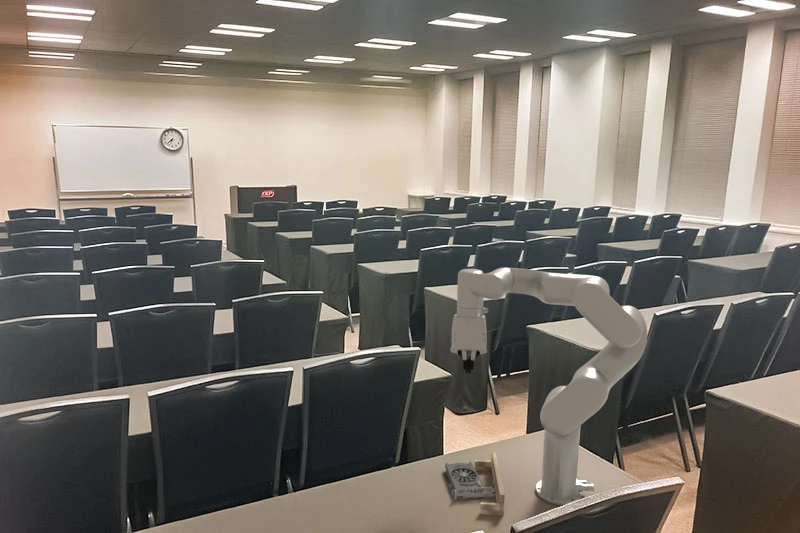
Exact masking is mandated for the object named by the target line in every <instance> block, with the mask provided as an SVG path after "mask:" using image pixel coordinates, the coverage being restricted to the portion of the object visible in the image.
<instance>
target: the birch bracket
mask: <svg viewBox="0 0 800 533" xmlns="http://www.w3.org/2000/svg"><path fill="white" fill-rule="evenodd" d="M497 456H498V455H497V453H496V451H491V456H490V457H491V458H490V459H491V460H487V459H486V460H485V459H484V460H483V459H475V460H474V468H475V470H476V471H483V472H484V471H485V472H491V478H492V483H493V488H495V491H494V494H495V500H496V502H480V506H479V509H480V510H479V513H480V515H486V516H487V515H490V516H504V515H505V491H504V485H503V482H502V476H501V471H500V467H499V462H498V461H499V460H498V457H497Z"/></svg>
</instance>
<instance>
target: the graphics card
mask: <svg viewBox="0 0 800 533" xmlns="http://www.w3.org/2000/svg"><path fill="white" fill-rule="evenodd" d="M444 467H445V472H446V473H445V474H446V476H447V478H448V481H446V484H447V486H448V489H449V492H450V494H451V497H452V499H453V500H454V502H456V500H464V499H465V500H466V499H467V500H469V501H471V500H472V499H478V500H481V499H482V500H483V499H487V498H494V497H495V498H496V495H495V493H493V492H495V488H494V487H492V486H486V487H485V486H484V484H483V482H482V480H481V478H480V475H479V474H478V472H477V470H475V465H474V464H473V462H471V461H469V462H468V463H467V462H466V463H465V462H456V463H455V462H454V463H449V462H446V463H444Z"/></svg>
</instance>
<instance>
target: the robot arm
mask: <svg viewBox="0 0 800 533" xmlns="http://www.w3.org/2000/svg"><path fill="white" fill-rule="evenodd" d="M456 290H457V292H456V293H457V295H456V296H457V298H456V313H455V314H454V315H453V319H452V324H451V325H452V327H451V337H450V338H451V341H450V342H451V346H450V348H449V349H450V353H452V354H457V355H459V357H461V359H462V370H464V372H465V374H468V373H469V374H472V371H473V370H474V364H475V363H474V361H475V360H476V359H477V357H478V356H479V355H483V354H487V353H488V349H487V345H488V344H487V343H488V342H487V341H488V339H487V338H488V337H487V333H488V332H487V320H486V315H485V314H487V313H489V308H488V307H485V306H484V299H487V300H491V301H492V300H493V301H496V300H499V299H502V298H503V297H505V296H506V295H507V294H520V295H521V294H522V295H527V296H532V297H535V298H537V299H538V300H539V301H541V302H542V303H544V304H548V305H557V306H571V307H575V309H576V310H577V311H578V312H579V313H580V315H581V316H582V317H583V318H584V319H585V320H586V321H587V322H588V323H589V325H591V326H592V327H593V328H594V329H595V330H596V331H597V332H598V333H599V334H600V335H601V336H602V337H604V338H605V340H606V341H608V343H606V345H605V346H604V347H603V348H601V350H600V351H598V353H597V354H595V355H594V356H593V357H592V358H590V360H588V361H587V362H586V363H585V364H583V365H582V366H580V367H579V368H578V369H577V370H576V371H575V373H574V374H573V377H572V379H571V381H570V383H569V384H567V385H559V386H556V387H555V388H553V389H551V391H550V392H549V393H548V395H547V396H546V398H545V400H544V404H543V405H542V408H541V410H540V417H539V418H540V419H539V420H540V423H541V426H542V427H543V429H544V436H543V451H542V452H543V453H542V467H541V469H542V471H541V479H540V480H538V481H537V483H536V484H535V493H536V494H537V496H538V497H539V498H541V499H542V500H543V501H545V502H547V503H549V504H552V505H556V506H562V505H564V504H567V503H569V502H573V501H575V500H578V499H580V500H581V499H582V492H584V491H585V492H594V489H595V487H594V484H593V483H588V482H587V480H586V479H578V464H579V449H580V438H581V426H582V425H583V424H584V423H585V422H586V421H588V420H590V418H591V417H592V416H594V415H595V414H597V412H599V411H600V410H601V409H602V408H603V406H604V405H605V404H606V402H607V400H608V397H609V393H610V391H611V388H613V386H614V385H615V384H617V383H618V381H620V380H621V379H622V378H623V377H624V376H625V375H626V374H628V373H629V371H631V370H632V368H634V366H635V365H636V364H637V363H638V362H639V361H640V359H641V358H642V356H643V354H644V351H645V349H646V345H647V342H648V326H647V323H646V320H645V317H644V315H643V314H642V312H641V311H640V310H639V309H638V308H636V307H634V306H632V305H620V304H619V303H618V302H617V301H616V300H615V299H614V298H613V297H612V296H611V295H610V294H611V292H610V286H609V284H608V282H607V280H606V279H604V278H603V277H601V276H597V275H591V274H590V275H589V274H575V273H574V274H572V273H571V274H570V273H559V272H547V271H541V270H536V269H535V270H534V269H528V268H516V267H500V268H499V267H498V268H497V269H495V270H492V271H491V272H486V273H484V272H483V270H480V269H477V268H463V269H461V270H459V271H458V273H457V289H456ZM467 351H470V354H469V356H468V355H467Z"/></svg>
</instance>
